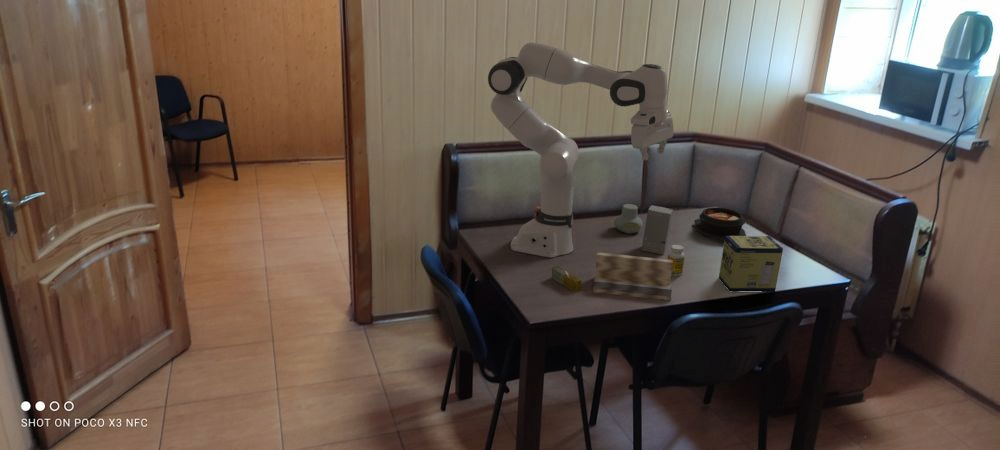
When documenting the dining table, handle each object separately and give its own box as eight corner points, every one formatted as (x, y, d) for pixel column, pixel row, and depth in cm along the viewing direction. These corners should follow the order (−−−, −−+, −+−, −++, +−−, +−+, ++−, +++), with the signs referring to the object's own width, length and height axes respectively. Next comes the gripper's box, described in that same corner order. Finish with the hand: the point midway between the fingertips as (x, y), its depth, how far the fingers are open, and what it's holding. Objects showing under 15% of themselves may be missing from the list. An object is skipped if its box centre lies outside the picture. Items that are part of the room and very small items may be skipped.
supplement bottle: (673, 268, 247) (677, 242, 243) (685, 274, 242) (689, 248, 239) (662, 271, 244) (665, 245, 240) (674, 277, 240) (677, 251, 236)
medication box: (551, 278, 236) (551, 267, 235) (557, 276, 237) (558, 265, 236) (574, 292, 227) (575, 281, 225) (581, 290, 228) (582, 279, 227)
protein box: (717, 278, 241) (724, 235, 235) (762, 278, 242) (770, 235, 236) (728, 292, 231) (736, 247, 225) (776, 292, 232) (784, 248, 227)
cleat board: (592, 291, 227) (595, 265, 224) (594, 277, 237) (597, 252, 234) (670, 300, 224) (674, 274, 220) (669, 285, 234) (672, 260, 231)
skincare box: (641, 251, 260) (646, 209, 254) (645, 244, 266) (650, 204, 260) (664, 255, 257) (670, 213, 251) (668, 248, 263) (673, 207, 258)
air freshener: (615, 234, 275) (617, 209, 271) (611, 226, 283) (614, 202, 279) (643, 235, 275) (646, 210, 271) (639, 227, 283) (642, 203, 279)
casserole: (682, 223, 288) (685, 204, 285) (723, 221, 293) (727, 201, 290) (714, 248, 266) (718, 226, 263) (759, 244, 270) (762, 224, 267)
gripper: (661, 108, 244) (661, 148, 248) (627, 120, 230) (628, 162, 235) (678, 110, 240) (678, 150, 244) (644, 121, 226) (644, 164, 230)
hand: (653, 156), depth 239 cm, fingers open, 8 cm apart
